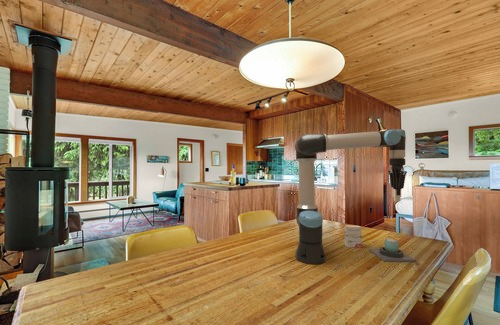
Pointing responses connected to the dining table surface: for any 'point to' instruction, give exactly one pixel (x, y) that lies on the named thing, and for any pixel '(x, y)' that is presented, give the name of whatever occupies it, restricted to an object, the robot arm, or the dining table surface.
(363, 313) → the dining table surface
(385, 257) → the square plate with ring
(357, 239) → the ink box
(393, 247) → the cap
